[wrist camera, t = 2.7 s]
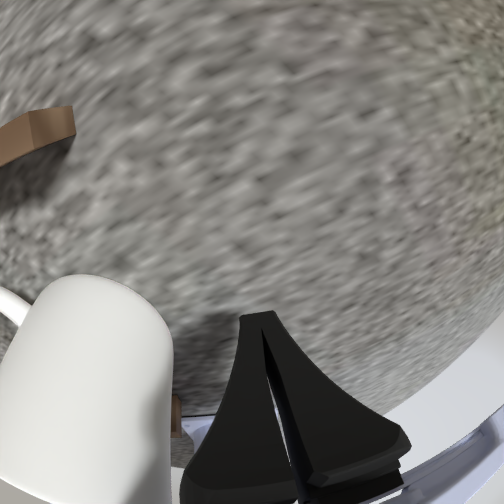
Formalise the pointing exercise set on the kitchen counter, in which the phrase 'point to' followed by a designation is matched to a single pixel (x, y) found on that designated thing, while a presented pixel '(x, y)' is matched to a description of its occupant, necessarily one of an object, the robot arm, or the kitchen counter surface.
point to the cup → (87, 395)
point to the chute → (40, 135)
